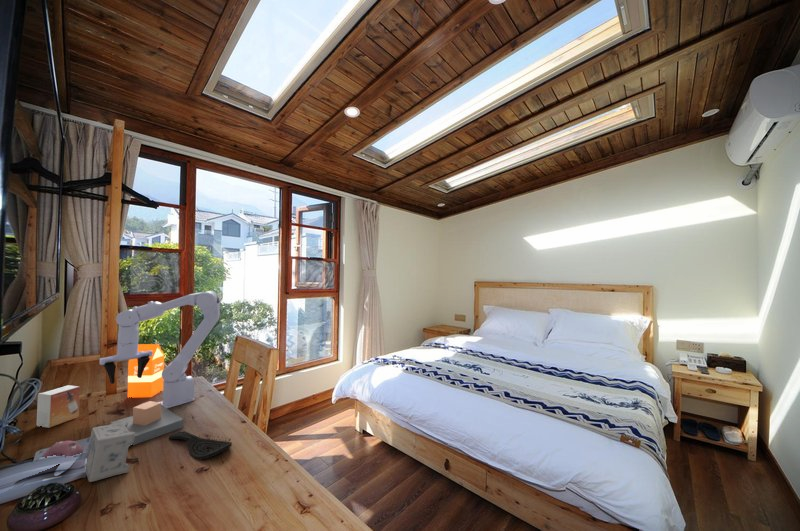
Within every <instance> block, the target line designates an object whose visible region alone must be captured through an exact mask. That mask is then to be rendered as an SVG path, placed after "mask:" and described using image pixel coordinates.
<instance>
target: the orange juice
mask: <svg viewBox="0 0 800 531" xmlns="http://www.w3.org/2000/svg"><path fill="white" fill-rule="evenodd" d="M142 351H153V355H152V356H151V357H149V358H150V360H149V362H148V363H147V365H146V367H145V369H144V371H143V374H142V377H141V378H138V377H137V371H138V361H137V359H131V360H128V369H127V372H128V373H127V374H128V375H127V398H128V399H129V397H130V398H131V397H132V399H133V398H153V397H155V395H158V394H159V393H161V392H163V378H162V371H163V369H164V368H165V354H164V352H163V350H162V349H161V346H160V344H159V343H157V344H156V343H155V344H153V343H151V344H149V343H148V344H146V343H145V344H144V343H143V344H139V343H138V352H142ZM160 391H161V392H160Z"/></svg>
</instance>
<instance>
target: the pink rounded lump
mask: <svg viewBox="0 0 800 531" xmlns="http://www.w3.org/2000/svg"><path fill="white" fill-rule="evenodd" d="M83 452H84V448H83V446H81V445H80V444H79V443H78V442H77V441H75V440H61V441H56V442H55V443H54V444H52V445H51V446H50V447H49V448H48V449H47V450H46V451H45V452H44V453H43V454H42V455H40V457H45V458H47V456H53V455H56V456H62V455H65V457H66V456H73V455H76V454H80V453H82V454H83Z"/></svg>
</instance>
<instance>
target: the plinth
mask: <svg viewBox="0 0 800 531" xmlns="http://www.w3.org/2000/svg"><path fill="white" fill-rule="evenodd" d="M123 422H128V426H127V430H128V431H129V432H135V440H134V442H133V446H135V445H137V444H141V443H144V442H146V441H149V440H151V439H152V440H153V439H154V438H157V437H160V436H163V435H165V434H167V433H171V432H174V431H176V430H179V429H182V428H184V419H183V418H182V417H180V416H178V414H176V413H174V412H172V411H171V410H169V408H167V409H166V408H165V407H163V406H161V418H160V419H158V420H156V421H154V422H152V423H150V424H147V425H145V426H144V425H138V424H133V415H131V416H128V417H124V418H121V419H117V420H114V421H110V423H109V425H111V424H116V423H123Z"/></svg>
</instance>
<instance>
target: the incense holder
mask: <svg viewBox="0 0 800 531" xmlns="http://www.w3.org/2000/svg"><path fill="white" fill-rule="evenodd" d="M127 426H128V422H123V423H116V424H111V425H110V424H105V425H99V426H94V427H93V428H92V429H91V432H90V436H89V442H88V446H87V451H86V455H85V458H87V464H86V470H85V473H86V477H87V480H88V482H89V483H92V482H97V481H99V480H103V479H107V478H110V477H114V476H117V475H122V474H128V473H129V471H130V465H129V464H128V463H127V458H128V457H127V456H128V452H129V445H131V444H133V442H134V440H135V432H129V431H128V430H127Z"/></svg>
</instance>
